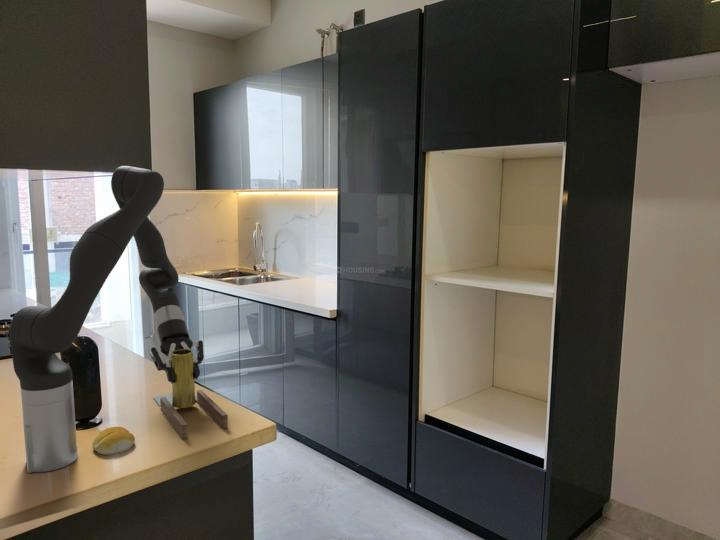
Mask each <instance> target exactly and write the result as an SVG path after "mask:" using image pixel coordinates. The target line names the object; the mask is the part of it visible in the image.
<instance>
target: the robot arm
mask: <svg viewBox="0 0 720 540" xmlns="http://www.w3.org/2000/svg"><path fill="white" fill-rule="evenodd" d="M151 170H152V169H148V168H142V167H135V166H131V165H130V166H129V165H120V166H118V167H117V168H116V169H115V170H114V171H113V173H112V176H111V180H110V187H111V191H112V195H113V197H114V199H115V202H116V204H117V206H118V208H119V209H118V210H116V211H115V212H112V213H111V214H109V215H107V216H105V217H104V218H102V219H99V220H98V221H96V222H94V223H93V224H91V225H90V226H89V227H88V228H87V229H86V230H84V232H83V234H82V235H81V236H80V238H79V239H78V241H77V242H76V244H75V245H74V247H73V249H72V250H71V253H70V255H69V256H70V257H69V281H68V284H67V286H66V288H65V290H64V292H63V294H62V295H61V296H60V298H59V299H58V300H57V302H56V303H55V304H54V305H53V306H40V305H30V306H25V307H22V308H21V309H19V310H18V311H17V312H16V313H15V314H14V315H13V317H12V320H10V326H9V342H10V343H9V345H10V353H11V358H12V365H13V370H14V373H15V375H16V377H17V379H18V380H19V386H20V395H21V406H22V424H23V433H24V434H23V435H24V447H25V448H24V449H25V457H26V458H25V460H26V469H27V473H28V474H31V473H36V472H37V473H43V472H46V473H47V472H51V471H56V470H59V469H62V468H65V467H67V466H69V465H71V464H72V463H74V462H75V461H76V460H77V459H78V442H77V441H78V440H77V428H76V412H75V399H74V398H75V397H74V384H73V371H72V368H71V366H70V365H69V363H68V364H67V363H66V362H64V361H63V360H62V359H61V358H59V357H58V355H57V354H60V353H62V352H65V351H66V350H67V349H68V348H70V347H71V346H72V345H73V344H74V343H75V340H76V339H77V337H78V336H79V334H80V331H81V330H82V327H83V326H84V323H85V321H86V319H87V317H88V314H89V312H90V310H91V309H92V306H93V304H94V302H95V300H96V299H97V296H98V295H99V292H100V291H101V289H102V287H103V286H104V284H105V282H106V281H107V279H108V278H109V276H110V275H111V272H112V271H113V270H114V268H115V267H116V266H117V264H118V262H119V260H120V259H121V257H122V255H123V254H124V251H125V250H126V248H127V246H128V245H129V243H130V241H131V240H132V238H133V239H134V241H135V245H136V247H137V248H136V249H137V252H138V255H139V259H140V262H141V265H142V266H143V267H145V269H143V270H141V271H140V273H139V275H138V281H139V284H140V287H141V289H143V291H144V293H145V294H146V295H147V297H148V299H149V300H150V303H151V306H152V310H153V314H154V322H155V328H156V332H157V334H158V339H159V343H160V346H158V347H154V346H153V347H151V349H150V350H149V351H150V352H149V356H150V357H151V359H152V362H153V363H154V366H155V367H156V369H157V371H158V372H160V371H164V372H165V374H166V378H167V381H168V382H169V383H170V384H171V385H172V383H174V382H175V376H174V372H173V368H172V352H173V351H175V350H179V349H189V350H192V348H194V350H195V351H196V356H197V357H196V356H195V355H194V354H193V368H194V380H198V378H199V377H200V375H201V370H200V366H199V365H201V364H202V363H203V361H204V359H205V354H204V341H203V340H201V339H200V340H199V341H192V339H191V338H190V334H189V331H188V327H187V323H186V319H185V316H184V314H183V312H182V308H181V305H180V302H179V299H178V295H177V293H176V292H175V291H173V290H168V289H172V288H174V287H176V286H177V284H178V283H179V274H178V272H177V269H176V267H175V266H174V265H173V263H172V262H171V261H170V259H169V257H168V254H167V249H166V246H165V242H164V238H163V236H162V234H161V232H160V231H159V229H158V228H157V227H156V225H155V224H154V223H153V222H152V221H151V220H150V219H149V217H148V216H149V215H150V214H151V212H152V211H153V210H154V208H155V207H156V206H157V205H158V203H159V201H160V200H161V197H162V195H163V192H164V190H165V189H164V187H165V180H164V178H163V176H162V174H160V172H158V171H156V170H152V171H151ZM161 353H162V354H163V355H165V356H166V357H167V358H166V361H165V362H166V363H164V362H163V360H162V358H161V356H160V355H161Z"/></svg>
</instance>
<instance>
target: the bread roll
mask: <svg viewBox="0 0 720 540" xmlns="http://www.w3.org/2000/svg"><path fill="white" fill-rule="evenodd" d="M135 441H136V438H135V435H134V434H133V433H132V432H130V431H129V430H128V429H126V428H125V427H122V426H111V427H108V428H105V429H103V430H100V432H99V433H97V435H96V436H95V438H94V439H93V441H92V449H93V450H94V451H96V453H98V454H100V455H105V456H107V455H109V456H111V455H116V454H120V453H123V452H126V451H128V450H130V449H131V448H132V446H133V445H134V444H135Z"/></svg>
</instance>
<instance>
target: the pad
mask: <svg viewBox="0 0 720 540" xmlns="http://www.w3.org/2000/svg"><path fill="white" fill-rule="evenodd" d="M163 397H165V398H166V399H167V400H168V401H169V402H170V404H171V405H172V398H173V392H172V393H167V394H162V395H161V394H160V395H156V396H153V397H152V398H154V399H153V400H154V402H155V403H156V402H157V403H156V404H157V405H158V407H159V406H160V407H161V403H160V398H163ZM195 399H196V403H197V395H195ZM160 407H159V408H160Z"/></svg>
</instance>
